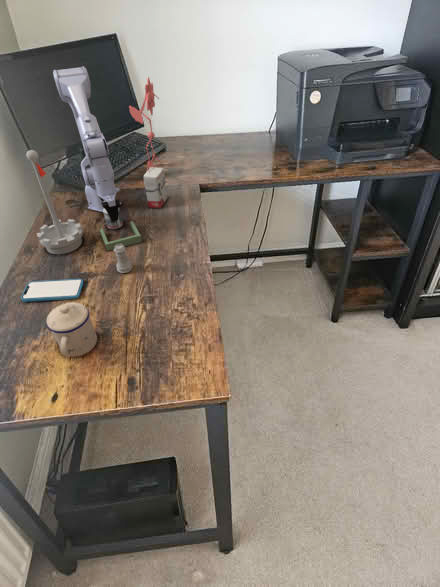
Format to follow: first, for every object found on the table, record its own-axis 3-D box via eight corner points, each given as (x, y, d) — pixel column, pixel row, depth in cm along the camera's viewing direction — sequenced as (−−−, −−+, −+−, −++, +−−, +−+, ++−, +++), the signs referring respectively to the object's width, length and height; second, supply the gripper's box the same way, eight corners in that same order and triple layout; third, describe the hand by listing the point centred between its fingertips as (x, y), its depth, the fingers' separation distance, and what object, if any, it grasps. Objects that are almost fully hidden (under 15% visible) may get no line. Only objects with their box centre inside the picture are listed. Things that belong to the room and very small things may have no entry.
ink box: (161, 208, 137) (156, 177, 129) (148, 207, 138) (142, 176, 130) (168, 197, 144) (164, 166, 136) (155, 196, 144) (151, 166, 137)
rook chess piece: (135, 266, 112) (130, 243, 107) (127, 275, 109) (121, 252, 104) (121, 263, 113) (116, 240, 108) (114, 272, 110) (107, 249, 105)
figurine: (138, 185, 152) (120, 88, 129) (151, 159, 172) (137, 71, 149) (177, 185, 151) (165, 86, 128) (185, 159, 170) (176, 69, 147)
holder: (101, 235, 125) (99, 228, 124) (134, 227, 128) (132, 220, 127) (107, 250, 118) (105, 244, 117) (141, 241, 122) (140, 235, 120)
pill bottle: (116, 219, 133) (110, 196, 127) (126, 224, 130) (120, 200, 124) (104, 226, 130) (97, 202, 124) (113, 231, 127) (107, 207, 121)
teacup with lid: (64, 330, 93) (48, 294, 86) (101, 327, 93) (89, 291, 86) (50, 370, 84) (31, 334, 77) (92, 367, 84) (77, 331, 77)
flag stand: (35, 245, 122) (-5, 152, 102) (71, 228, 129) (41, 138, 109) (56, 261, 115) (17, 164, 95) (93, 242, 122) (64, 148, 102)
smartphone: (77, 296, 101) (20, 299, 101) (79, 299, 102) (21, 302, 101) (83, 278, 107) (28, 281, 106) (84, 281, 108) (30, 284, 107)
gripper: (121, 184, 115) (130, 223, 124) (111, 166, 125) (119, 204, 134) (97, 189, 113) (108, 229, 122) (89, 171, 123) (99, 209, 132)
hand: (113, 216), depth 127 cm, fingers closed on pill bottle, 5 cm apart
